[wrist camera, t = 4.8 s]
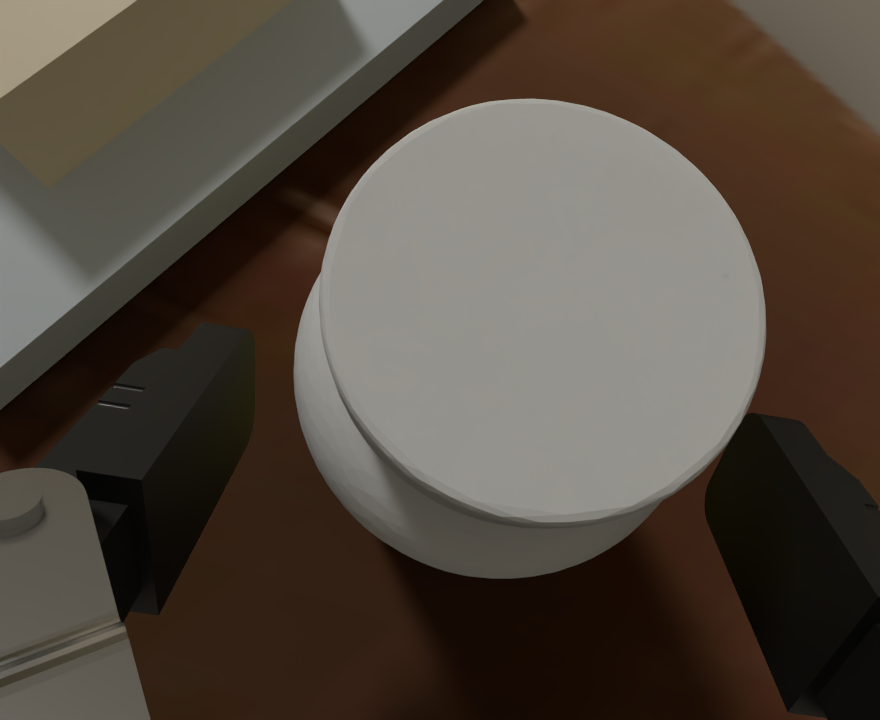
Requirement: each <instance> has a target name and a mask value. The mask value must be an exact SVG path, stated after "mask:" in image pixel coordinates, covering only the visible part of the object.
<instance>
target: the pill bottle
mask: <svg viewBox="0 0 880 720" xmlns="http://www.w3.org/2000/svg"><path fill="white" fill-rule="evenodd" d="M765 343H766V311H765V302H764V295H763V288H762V281H761V277H760V274H759V270H758V267H757V264H756V261H755V258H754V255H753V253H752V250H751V247H750V245H749V242H748V240H747V238H746V236H745V234H744V232H743V230H742V228H741V226H740V224H739V222H738V220H737V218H736V216H735V215H734V213H733V212H732V210H731V209H730V207H729V206H728V204H727V203H726V201H725V200H724V199H723V197H722V196H721V194H720V193H719V192H718V191H717V190H716V188H715V187H714V186H713V185H712V184H711V183H710V181H709V180H708V179H707V178H706V177H705V176H704V175H703V174H702V173H701V172H700V171H699V170H698V169H697V168H696V167H695V166H694V165H693V164H692V163H691V162H690V161H688V160H687V159H686V158H685V157H684V156H683V155H681V154H680V153H679V152H678V151H677V150H675V149H674V148H672V147H671V146H669V145H668V144H667V143H665V142H664V141H662V140H661V139H659V138H657V137H656V136H654V135H653V134H651V133H650V132H648V131H647V130H645V129H643V128H641V127H639V126H637V125H635V124H633V123H631V122H629V121H626V120H624V119H622V118H619V117H617V116H614V115H612V114H609V113H607V112H604V111H600V110H597V109H594V108H590V107H587V106H582V105H577V104H572V103H567V102H561V101H555V100H542V99H512V100H501V101H491V102H485V103H481V104H477V105H472V106H469V107H466V108H463V109H460V110H457V111H454V112H452V113H449V114H447V115H444V116H442V117H440V118H437V119H435V120H433V121H430V122H428V123H427V124H425V125H423V126H421V127H419V128H418V129H416V130H414V131H412V132H411V133H409V134H408V135H407V136H405V137H404V138H403V139H401V140H400V141H399V142H397V143H396V144H395V145H393V146H392V147H391V148H389V149H388V150H387V151H386V152H385V153H384V154H383V155H382V156H381V157H380V158H379V159H378V160H377V161H376V162H375V163H374V164H373V165H372V166H371V167H370V168H369V169H368V170H367V172H366V173H365V174H364V175H363V176H362V178H361V179H360V180H359V182H358V183H357V185H356V186H355V187H354V189H353V190H352V191H351V193H350V195H349V196H348V198H347V200H346V202H345V203H344V205H343V207H342V209H341V211H340V213H339V215H338V217H337V219H336V221H335V224H334V226H333V229H332V232H331V235H330V238H329V241H328V244H327V248H326V252H325V255H324V259H323V264H322V270H321V273H320V275H319V277H318V278H317V280H316V282H315V284H314V286H313V288H312V290H311V293H310V295H309V297H308V299H307V302H306V305H305V308H304V311H303V313H302V317H301V320H300V324H299V329H298V335H297V340H296V345H295V359H294V389H295V399H296V405H297V411H298V416H299V420H300V424H301V428H302V431H303V434H304V437H305V440H306V443H307V445H308V448H309V450H310V453H311V455H312V457H313V459H314V461H315V463H316V466H317V468H318V469H319V471H320V473H321V474H322V476H323V478H324V479H325V481H326V483H327V484H328V486H329V487H330V489H331V490H332V492H333V493H334V494H335V496H336V497H337V498H338V499H339V501H340V502H341V503H342V504H343V506H344V507H345V508H346V509H347V510H348V511H349V512H350V513H351V514H352V515H353V516H354V517H355V518H356V520H357V521H358V522H359V523H360V524H361V525H362V526H364V527H365V528H366V529H367V530H369V531H370V532H371V533H372V534H374V535H375V536H376V537H378V538H379V539H380V540H382V541H383V542H385V543H386V544H388V545H390V546H391V547H393V548H395V549H396V550H398V551H399V552H401V553H403V554H405V555H407V556H409V557H411V558H413V559H415V560H417V561H419V562H422V563H424V564H427V565H429V566H432V567H434V568H437V569H440V570H443V571H446V572H451V573H455V574H459V575H465V576H471V577H480V578H491V579H513V578H523V577H533V576H538V575H543V574H548V573H553V572H557V571H560V570H563V569H566V568H569V567H572V566H575V565H578V564H580V563H582V562H585V561H587V560H589V559H592V558H594V557H596V556H597V555H599V554H601V553H603V552H604V551H606V550H608V549H609V548H611V547H612V546H614V545H616V544H617V543H619V542H620V541H622V540H623V539H624V538H625V537H627V536H628V535H629V534H630V533H632V532H633V531H634V530H635V529H636V528H637V527H638V526H639V525H640V524H641V523H643V522H644V521H645V520H646V518H647V517H648V516H649V515H650V514H651V513H652V512H653V511H654V510H655V508H656V507H657V506H658V505H659V504H660V502H661V501H662V500H664V499H666V498H668V497H669V496H671V495H673V494H674V493H676V492H677V491H678V490H680V489H681V488H683V487H684V486H685V485H687V484H688V483H689V482H691V481H692V480H693V479H695V478H696V477H697V476H698V475H699V474H701V473H702V472H703V471H704V470H705V469H706V467H707V466H708V465H709V464H710V463H711V462H712V461H713V460H714V459H715V458H716V457H717V456H718V455H719V453H720V452H721V451H722V450H723V449H724V447H725V446H726V445H727V444H728V442H729V441H730V440H731V438H732V436H733V435H734V433H735V431H736V430H737V428H738V427H739V425H740V423H741V422H742V420H743V418H744V416H745V414H746V412H747V410H748V408H749V405H750V403H751V400H752V398H753V395H754V393H755V390H756V387H757V383H758V380H759V377H760V373H761V368H762V364H763V360H764V353H765Z"/></svg>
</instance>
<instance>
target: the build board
mask: <svg viewBox="0 0 880 720" xmlns="http://www.w3.org/2000/svg"><path fill="white" fill-rule="evenodd" d="M482 1H484V0H0V410H1V409H2V408H3V407H4V406H6V405H7V404H8V403H9V402H10V401H11V400H13V399H14V398H15V397H16V396H17V395H19V394H20V393H21V392H22V391H23V390H24V389H26V388H27V387H28V386H29V385H30V384H32V383H33V382H34V381H35V380H36V379H37V378H39V377H40V376H41V375H42V374H43V373H44V372H46V371H47V370H48V369H49V368H50V367H52V366H53V365H54V364H55V363H56V362H57V361H59V360H60V359H61V358H62V357H63V356H65V355H66V354H67V353H68V352H69V351H70V350H72V349H73V348H74V347H75V346H76V345H78V344H79V343H80V342H81V341H82V340H83V339H85V338H86V337H87V336H88V335H89V334H91V333H92V332H93V331H94V330H95V329H96V328H98V327H99V326H100V325H101V324H102V323H104V322H105V321H106V320H107V319H108V318H109V317H111V316H112V315H113V314H114V313H115V312H117V311H118V310H119V309H120V308H121V307H122V306H124V305H125V304H126V303H127V302H128V301H129V300H131V299H132V298H133V297H134V296H135V295H137V294H138V293H139V292H140V291H141V290H142V289H144V288H145V287H146V286H147V285H148V284H150V283H151V282H152V281H153V280H154V279H155V278H157V277H158V276H159V275H160V274H161V273H163V272H164V271H165V270H166V269H167V268H168V267H170V266H171V265H172V264H173V263H174V262H176V261H177V260H178V259H179V258H180V257H181V256H183V255H184V254H185V253H186V252H187V251H189V250H190V249H191V248H192V247H193V246H194V245H196V244H197V243H198V242H199V241H200V240H202V239H203V238H204V237H205V236H206V235H207V234H209V233H210V232H211V231H212V230H213V229H214V228H216V227H217V226H218V225H219V224H220V223H222V222H223V221H224V220H225V219H226V218H227V217H229V216H230V215H231V214H232V213H233V212H235V211H236V210H237V209H238V208H239V207H240V206H242V205H243V204H244V203H245V202H246V201H248V200H249V199H250V198H251V197H252V196H253V195H255V194H256V193H257V192H258V191H259V190H261V189H262V188H263V187H264V186H265V185H266V184H268V183H269V182H270V181H271V180H272V179H274V178H275V177H276V176H277V175H278V174H279V173H281V172H282V171H283V170H284V169H285V168H287V167H288V166H289V165H290V164H291V163H292V162H294V161H295V160H296V159H297V158H298V157H299V156H301V155H302V154H303V153H304V152H305V151H307V150H308V149H309V148H310V147H311V146H312V145H314V144H315V143H316V142H317V141H318V140H320V139H321V138H322V137H323V136H324V135H325V134H327V133H328V132H329V131H330V130H331V129H333V128H334V127H335V126H336V125H337V124H338V123H340V122H341V121H342V120H343V119H344V118H346V117H347V116H348V115H349V114H350V113H351V112H353V111H354V110H355V109H356V108H357V107H359V106H360V105H361V104H362V103H363V102H364V101H366V100H367V99H368V98H369V97H370V96H372V95H373V94H374V93H375V92H376V91H377V90H379V89H380V88H381V87H382V86H383V85H384V84H386V83H387V82H388V81H389V80H390V79H392V78H393V77H394V76H395V75H396V74H397V73H399V72H400V71H401V70H402V69H403V68H405V67H406V66H407V65H408V64H409V63H410V62H412V61H413V60H414V59H415V58H416V57H418V56H419V55H420V54H421V53H422V52H423V51H425V50H426V49H427V48H428V47H429V46H431V45H432V44H433V43H434V42H435V41H436V40H438V39H439V38H440V37H441V36H442V35H444V34H445V33H446V32H447V31H448V30H449V29H451V28H452V27H453V26H454V25H455V24H457V23H458V22H459V21H460V20H461V19H462V18H464V17H465V16H466V15H467V14H468V13H469V12H471V11H472V10H473V9H474V8H475V7H477V6H478V5H479V4H480V3H481V2H482Z"/></svg>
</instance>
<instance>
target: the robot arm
mask: <svg viewBox="0 0 880 720" xmlns="http://www.w3.org/2000/svg"><path fill="white" fill-rule="evenodd" d="M254 413H255V342H254V336H253V333H252V331H251V330H247V329H240V328H234V327H228V326H222V325H216V324H210V323H202V324H200V325H199V326H198V327H197V328H196V329H195V331H194V332H193V333H192V334H191V335H190V336H189V338H188V339H187V340H186V341H185V342H184V343H183V345H182V346H181V347H180V348H179V349H178V350H175V349H169V348H161V349H159V350H157V351H155V352H154V353H152V354H150V355H148V356H146V357H144V358H142V359H140V360H138V361H136V362H134V363H133V364H132V365H131V366H130V367H129V368H128V369H127V370H126V371H125V372H124V373H123V374H122V375H121V376H120V378H119V379H118V380H117V381H116V382H115V384H114V387H110V388H109V389H108V390H107V391H106V392H105V393H104V394H103V395H102V397H101V398H100V399H99V400H98V404H97V405H96V404H94V405H93V406H92V407H91V408H90V409H89V410H88V411H87V412H86V413H85V415H84V416H83V417H82V418H81V419H80V420H79V421H78V422H77V423H76V424H75V425H74V426H73V427H72V428H71V429H70V430H69V431H68V433H67V434H66V435H65V436H64V437H63V438H62V439H61V440H60V441H59V442H58V443H57V444H56V445H55V446H54V447H53V448H52V449H51V451H50V452H49V453H48V454H47V455H46V456H45V457H44V458H43V459H42V460H41V461H40V462H39V463H38V464H37V465H36V466H35V467H34V468H25V469H17V470H12V471H7V472H3V473H0V720H150V716H149V713H148V709H147V705H146V702H145V698H144V694H143V690H142V687H141V683H140V679H139V675H138V672H137V668H136V664H135V660H134V657H133V653H132V649H131V646H130V642H129V638H128V635H127V631H126V628H125V625H124V623H123V622H124V620H125V618H126V616H127V615H128V613H129V611H133V612H140V613H146V614H153V615H159V614H160V612H161V610H162V608H163V606H164V604H165V602H166V600H167V598H168V596H169V594H170V593H171V591H172V589H173V587H174V585H175V583H176V581H177V579H178V577H179V575H180V573H181V571H182V569H183V568H184V566H185V564H186V562H187V560H188V558H189V556H190V554H191V552H192V550H193V548H194V546H195V545H196V543H197V541H198V539H199V537H200V535H201V533H202V531H203V529H204V527H205V525H206V523H207V522H208V520H209V518H210V516H211V514H212V512H213V510H214V508H215V506H216V504H217V502H218V500H219V499H220V497H221V495H222V493H223V491H224V489H225V487H226V485H227V483H228V481H229V479H230V477H231V476H232V474H233V472H234V470H235V468H236V466H237V464H238V462H239V460H240V458H241V456H242V454H243V452H244V451H245V449H246V446H247V444H248V442H249V439H250V435H251V432H252V427H253V422H254ZM705 515H706V519H707V522H708V525H709V527H710V529H711V532H712V534H713V537H714V539H715V541H716V544H717V546H718V548H719V551H720V553H721V555H722V558H723V560H724V563H725V565H726V567H727V570H728V572H729V574H730V577H731V579H732V581H733V584H734V586H735V589H736V591H737V593H738V596H739V598H740V600H741V603H742V605H743V607H744V610H745V612H746V615H747V617H748V619H749V622H750V624H751V626H752V629H753V631H754V633H755V636H756V638H757V641H758V643H759V645H760V648H761V650H762V652H763V655H764V657H765V659H766V662H767V664H768V667H769V669H770V671H771V674H772V676H773V678H774V681H775V683H776V685H777V688H778V690H779V693H780V695H781V697H782V700H783V702H784V704H785V707H786V709H787V711H788V712H789V713H796V714H803V715H809V716H816V717H823V718H827V719H828V720H880V511H878V505H877V503H876V502H875V501H874V500H873V498H872V497H871V496H870V494H869V493H868V492H867V490H866V489H865V488H864V487H863V485H862V484H861V483H860V481H859V480H858V479H856V478H855V477H854V476H853V475H852V474H850V473H849V472H848V471H847V470H845V469H844V468H843V467H842V466H840V465H839V464H838V463H837V462H836V461H834V460H833V459H832V458H831V457H829V456H828V455H827V454H826V452H825V451H824V450H823V448H822V447H821V446H820V444H819V443H818V442H817V440H816V439H815V438H814V436H813V435H812V434H811V432H810V431H809V430H808V428H807V427H806V426H805V425H804V424H803V423H802V422H801V421H798V420H793V419H787V418H781V417H775V416H769V415H763V414H756V413H749V414H747V415H745V416H744V418H743V420H742V422H741V423H740V425H739V427H738V428H737V430H736V431H735V433H734V435H733V436H732V438H731V440H730V441H729V443H728V445H727V447H726V449H725V451H724V453H723V455H722V457H721V459H720V461H719V463H718V465H717V467H716V469H715V471H714V473H713V475H712V477H711V479H710V482H709V484H708V487H707V490H706V494H705Z"/></svg>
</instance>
